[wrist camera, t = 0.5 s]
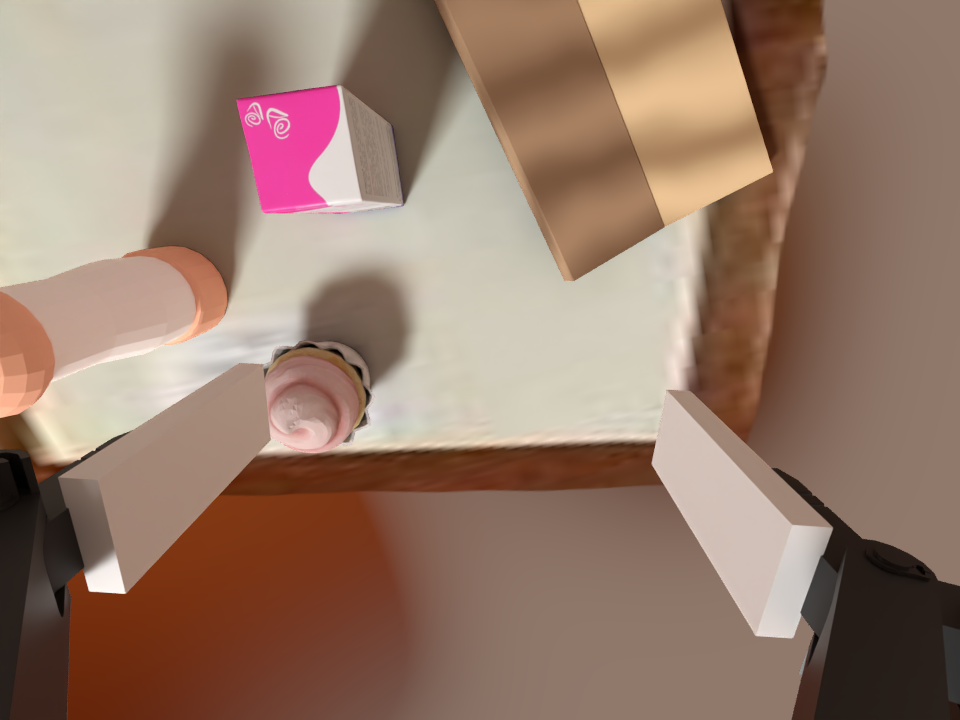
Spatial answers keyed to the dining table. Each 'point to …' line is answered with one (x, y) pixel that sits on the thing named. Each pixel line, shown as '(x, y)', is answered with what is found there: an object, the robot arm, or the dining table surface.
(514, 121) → the board
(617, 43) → the laid plank
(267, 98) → the supplement box
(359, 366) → the cupcake
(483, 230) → the dining table surface
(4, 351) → the peach and white cylinder
